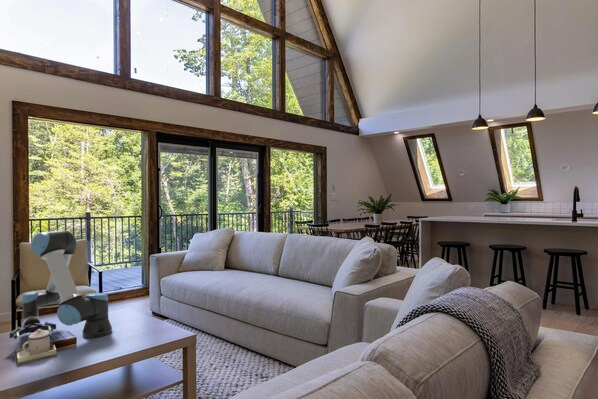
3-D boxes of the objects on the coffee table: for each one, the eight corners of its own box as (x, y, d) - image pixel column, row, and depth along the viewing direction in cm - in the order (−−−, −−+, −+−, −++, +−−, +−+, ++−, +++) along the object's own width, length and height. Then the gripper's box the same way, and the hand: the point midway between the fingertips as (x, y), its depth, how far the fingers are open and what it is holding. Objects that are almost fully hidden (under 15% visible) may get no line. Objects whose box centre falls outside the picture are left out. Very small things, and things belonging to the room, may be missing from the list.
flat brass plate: (16, 351, 195) (16, 349, 195) (53, 343, 205) (52, 341, 205) (17, 364, 179) (17, 362, 179) (57, 355, 189) (57, 353, 189)
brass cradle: (17, 357, 186) (17, 353, 186) (54, 348, 195) (54, 344, 195) (17, 362, 180) (17, 358, 179) (56, 353, 189) (56, 349, 189)
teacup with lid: (44, 347, 197) (44, 325, 197) (54, 350, 193) (53, 328, 192) (18, 356, 187) (17, 332, 187) (27, 360, 182) (27, 336, 182)
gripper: (58, 325, 219) (63, 336, 202) (3, 336, 203) (4, 348, 186) (58, 312, 218) (62, 322, 202) (3, 322, 203) (3, 333, 186)
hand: (34, 335), depth 194 cm, fingers open, 13 cm apart
